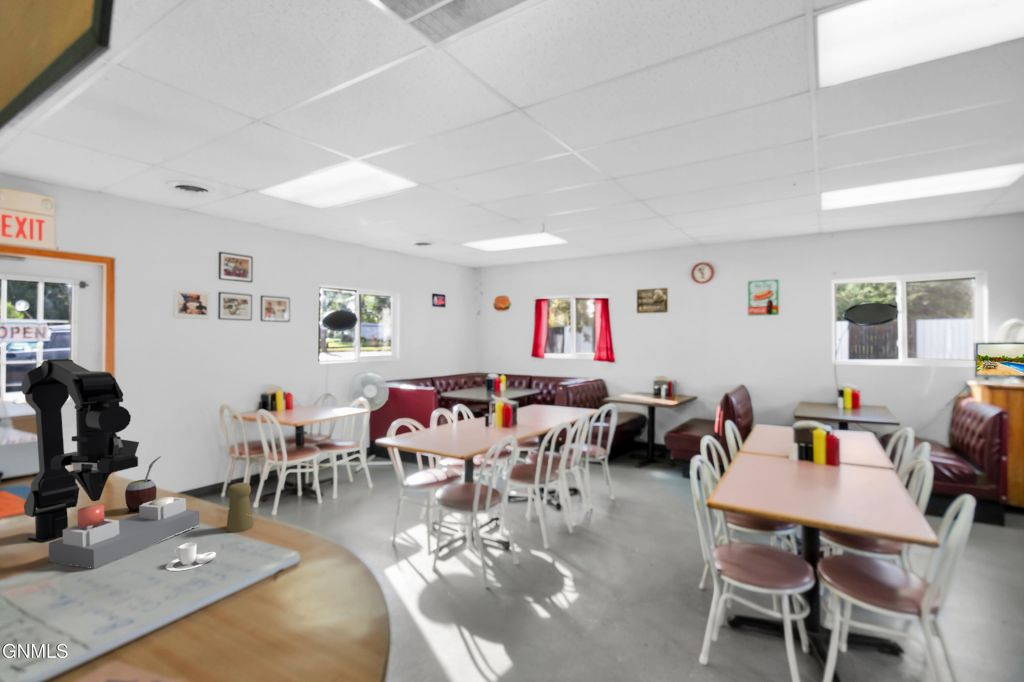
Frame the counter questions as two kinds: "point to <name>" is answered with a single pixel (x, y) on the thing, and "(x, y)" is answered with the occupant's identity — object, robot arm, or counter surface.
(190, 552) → the teacup and saucer
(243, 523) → the cork
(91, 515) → the red plunger
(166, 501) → the cream plunger
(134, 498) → the mate gourd
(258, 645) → the counter surface
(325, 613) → the counter surface
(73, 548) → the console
